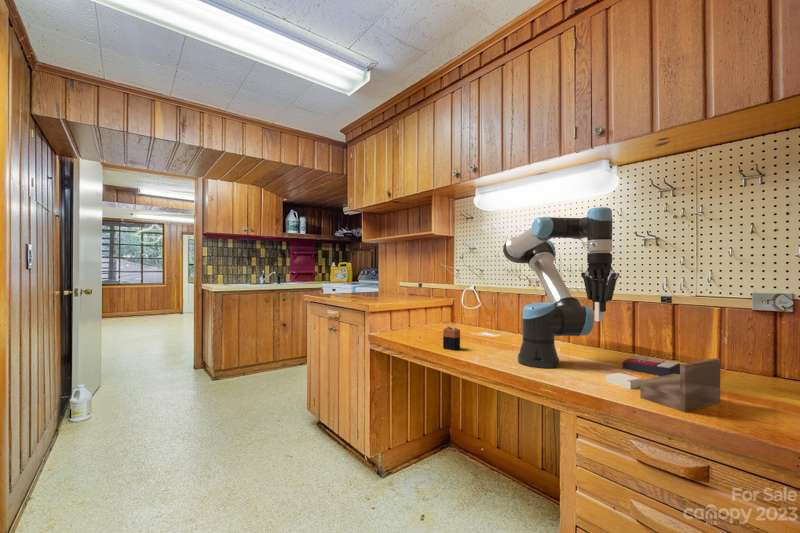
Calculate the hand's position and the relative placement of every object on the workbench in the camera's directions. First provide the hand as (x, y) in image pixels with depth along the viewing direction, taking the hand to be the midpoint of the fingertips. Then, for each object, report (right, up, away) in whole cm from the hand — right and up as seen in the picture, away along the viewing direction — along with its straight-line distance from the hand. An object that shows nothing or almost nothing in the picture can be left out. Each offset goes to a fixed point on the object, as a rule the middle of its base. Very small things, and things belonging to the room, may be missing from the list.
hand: (599, 320), depth 123 cm
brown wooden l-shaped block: (+10, -19, -22) cm, 31 cm away
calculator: (+23, -20, +7) cm, 31 cm away
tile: (+4, -19, -8) cm, 21 cm away
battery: (-45, -19, +40) cm, 63 cm away
